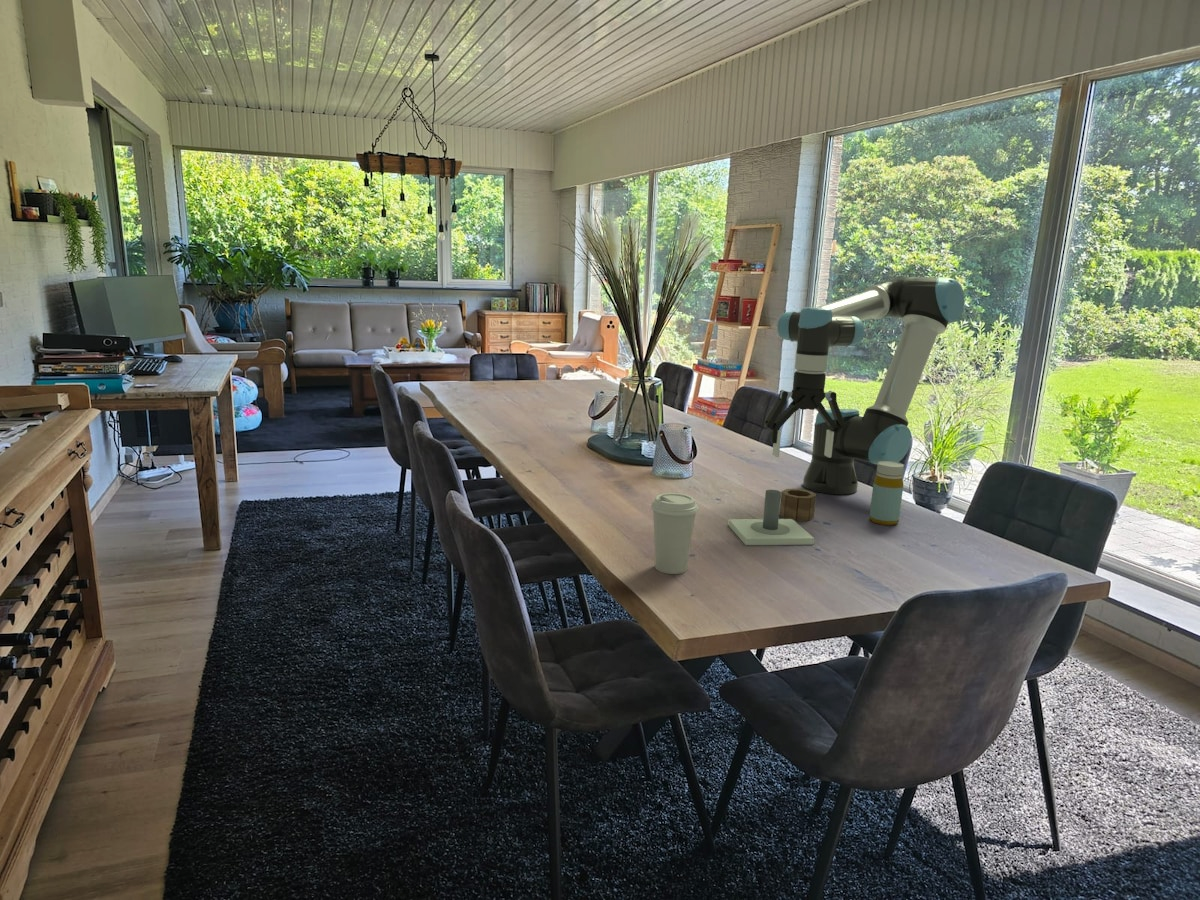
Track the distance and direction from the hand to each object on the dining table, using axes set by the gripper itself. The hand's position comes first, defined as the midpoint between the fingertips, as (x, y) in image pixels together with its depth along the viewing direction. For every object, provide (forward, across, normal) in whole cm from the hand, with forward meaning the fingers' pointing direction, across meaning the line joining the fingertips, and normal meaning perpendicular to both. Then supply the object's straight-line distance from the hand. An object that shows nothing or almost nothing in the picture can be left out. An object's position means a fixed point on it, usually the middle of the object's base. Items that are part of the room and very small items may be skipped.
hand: (801, 456), depth 193 cm
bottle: (+16, -21, +5) cm, 27 cm away
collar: (+16, 0, 0) cm, 16 cm away
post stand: (+16, +12, +14) cm, 24 cm away
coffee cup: (+16, +40, +34) cm, 55 cm away
